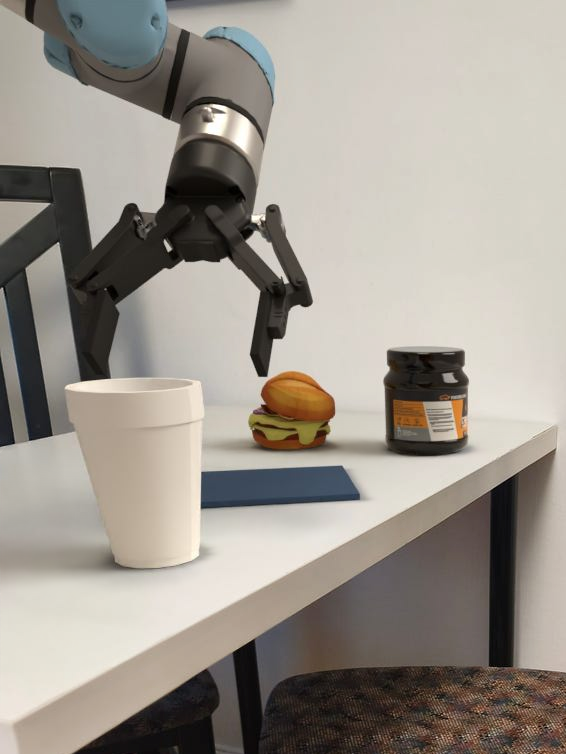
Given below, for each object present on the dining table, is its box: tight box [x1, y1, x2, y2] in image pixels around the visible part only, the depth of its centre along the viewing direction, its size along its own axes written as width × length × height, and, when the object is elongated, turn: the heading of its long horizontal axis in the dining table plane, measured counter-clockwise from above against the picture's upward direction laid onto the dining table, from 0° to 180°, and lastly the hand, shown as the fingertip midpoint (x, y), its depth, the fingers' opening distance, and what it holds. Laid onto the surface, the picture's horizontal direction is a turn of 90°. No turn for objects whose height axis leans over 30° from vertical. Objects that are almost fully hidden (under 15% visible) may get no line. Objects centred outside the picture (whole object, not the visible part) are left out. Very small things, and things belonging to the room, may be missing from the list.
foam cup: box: [63, 377, 206, 569], centre depth 67 cm, size 10×9×13 cm
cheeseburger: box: [247, 370, 336, 450], centre depth 112 cm, size 10×11×10 cm
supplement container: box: [382, 345, 470, 456], centre depth 110 cm, size 10×10×12 cm
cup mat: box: [200, 464, 361, 509], centre depth 91 cm, size 20×14×1 cm
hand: (175, 365), depth 72 cm, fingers open, 13 cm apart
